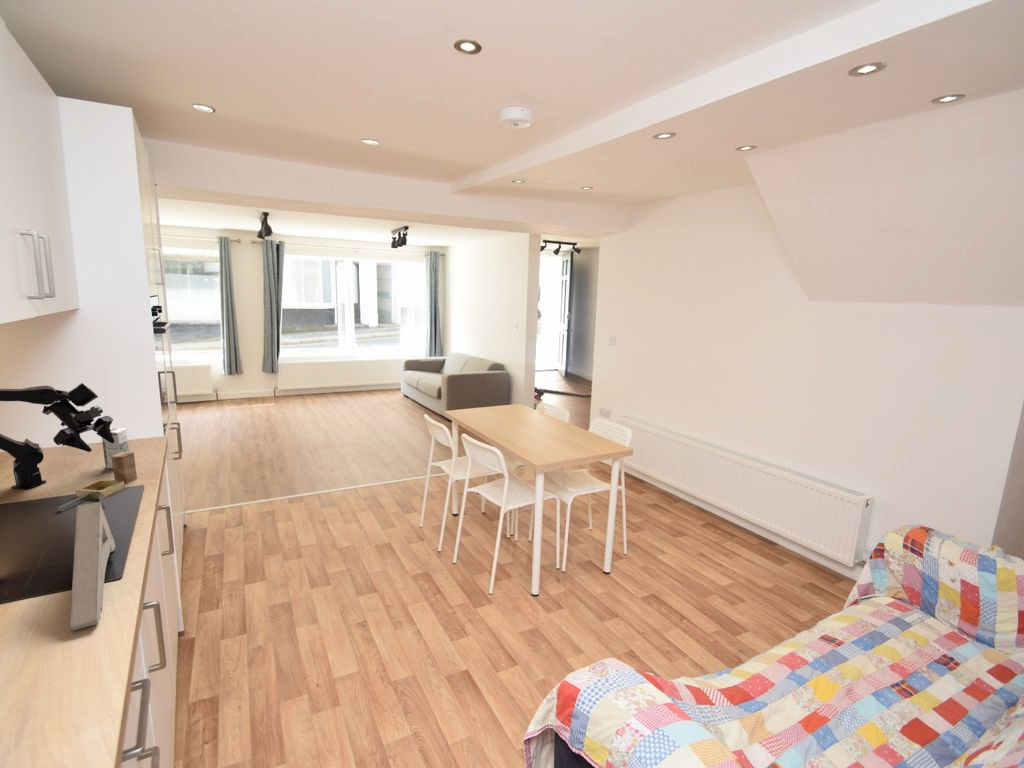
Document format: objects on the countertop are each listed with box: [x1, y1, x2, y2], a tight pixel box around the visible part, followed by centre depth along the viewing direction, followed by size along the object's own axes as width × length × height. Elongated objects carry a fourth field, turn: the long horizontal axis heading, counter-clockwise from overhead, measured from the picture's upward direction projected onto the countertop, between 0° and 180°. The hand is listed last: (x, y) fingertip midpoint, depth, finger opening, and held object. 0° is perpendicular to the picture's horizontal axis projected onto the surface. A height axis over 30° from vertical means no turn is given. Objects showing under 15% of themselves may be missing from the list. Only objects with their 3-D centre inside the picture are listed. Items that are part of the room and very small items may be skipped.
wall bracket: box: [69, 501, 116, 632], centre depth 121 cm, size 22×4×30 cm
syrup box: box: [101, 427, 130, 469], centre depth 191 cm, size 6×6×14 cm
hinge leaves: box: [57, 478, 126, 513], centre depth 164 cm, size 15×19×2 cm
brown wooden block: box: [111, 451, 138, 485], centre depth 178 cm, size 4×4×10 cm
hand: (102, 446), depth 177 cm, fingers open, 9 cm apart
